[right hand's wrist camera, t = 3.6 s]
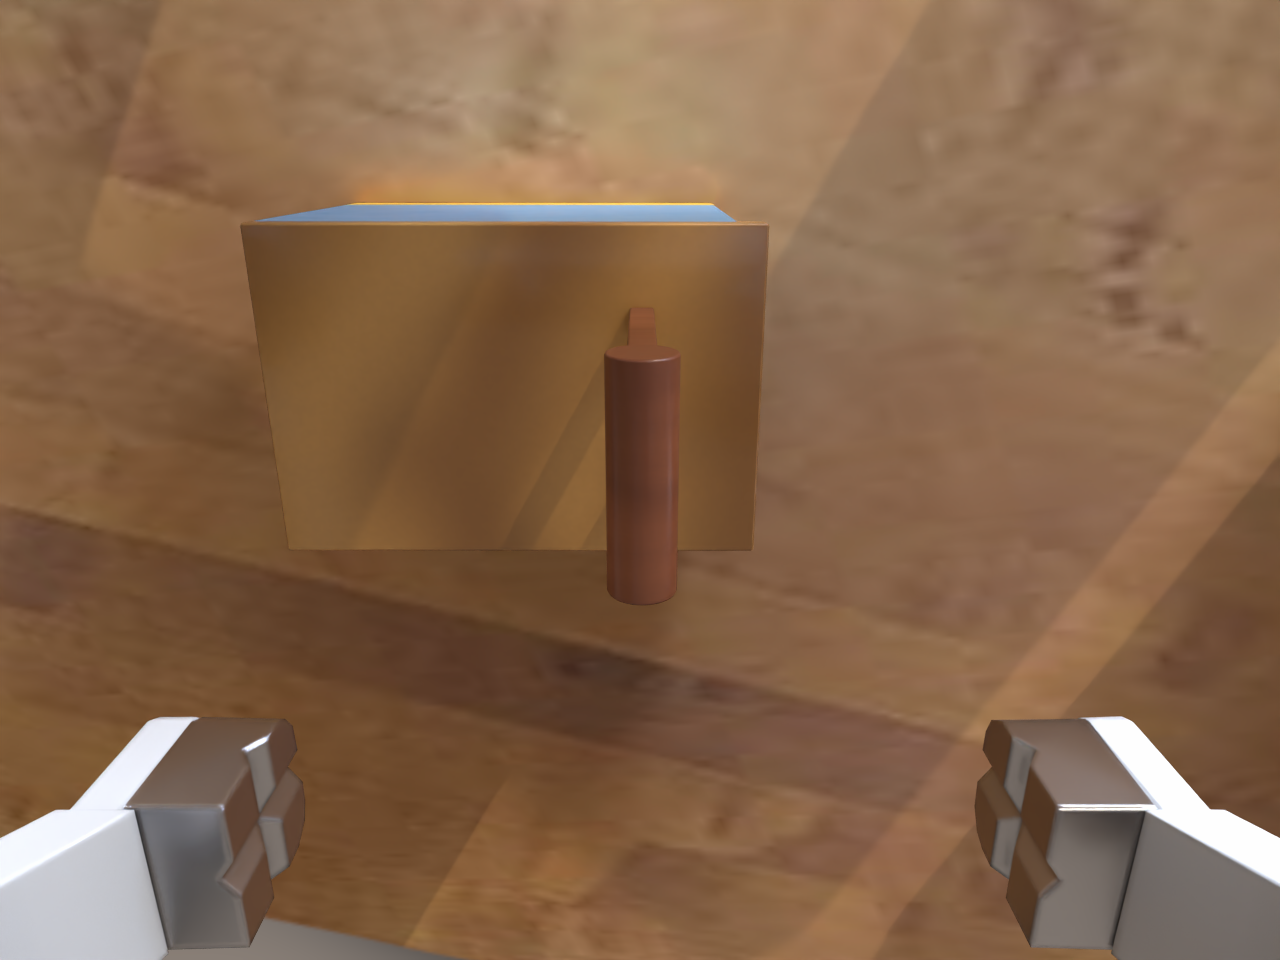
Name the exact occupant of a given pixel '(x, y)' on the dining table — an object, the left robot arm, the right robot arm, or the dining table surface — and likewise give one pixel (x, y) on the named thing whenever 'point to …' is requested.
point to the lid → (515, 386)
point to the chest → (516, 212)
